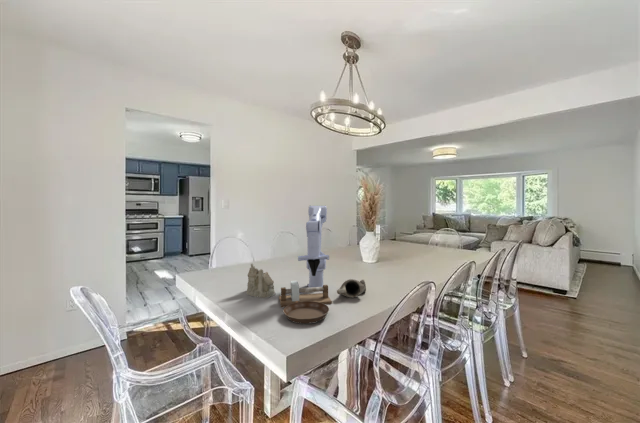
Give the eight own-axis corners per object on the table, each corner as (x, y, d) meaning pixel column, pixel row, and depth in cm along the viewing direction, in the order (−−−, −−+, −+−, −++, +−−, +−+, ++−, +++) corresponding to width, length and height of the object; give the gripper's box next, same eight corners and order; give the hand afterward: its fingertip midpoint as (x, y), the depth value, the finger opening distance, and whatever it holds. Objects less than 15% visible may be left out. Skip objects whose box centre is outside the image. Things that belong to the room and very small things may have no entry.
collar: (290, 296, 130) (290, 281, 129) (297, 295, 130) (297, 280, 130) (292, 301, 123) (292, 285, 123) (299, 301, 123) (299, 285, 123)
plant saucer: (291, 330, 99) (291, 321, 99) (277, 312, 115) (277, 304, 115) (337, 321, 106) (337, 313, 106) (318, 305, 122) (318, 298, 122)
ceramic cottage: (263, 299, 129) (263, 265, 130) (239, 294, 139) (240, 263, 140) (286, 292, 142) (286, 262, 143) (263, 288, 152) (263, 259, 152)
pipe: (344, 310, 137) (346, 303, 124) (332, 295, 141) (334, 287, 128) (369, 290, 142) (374, 281, 129) (358, 276, 146) (361, 266, 133)
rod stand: (279, 298, 131) (279, 284, 131) (325, 294, 135) (325, 281, 135) (281, 307, 119) (280, 292, 119) (331, 303, 124) (331, 289, 124)
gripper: (299, 248, 127) (299, 278, 128) (330, 247, 130) (330, 276, 131) (297, 246, 134) (297, 274, 135) (327, 245, 137) (327, 273, 137)
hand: (313, 275), depth 133 cm, fingers closed
